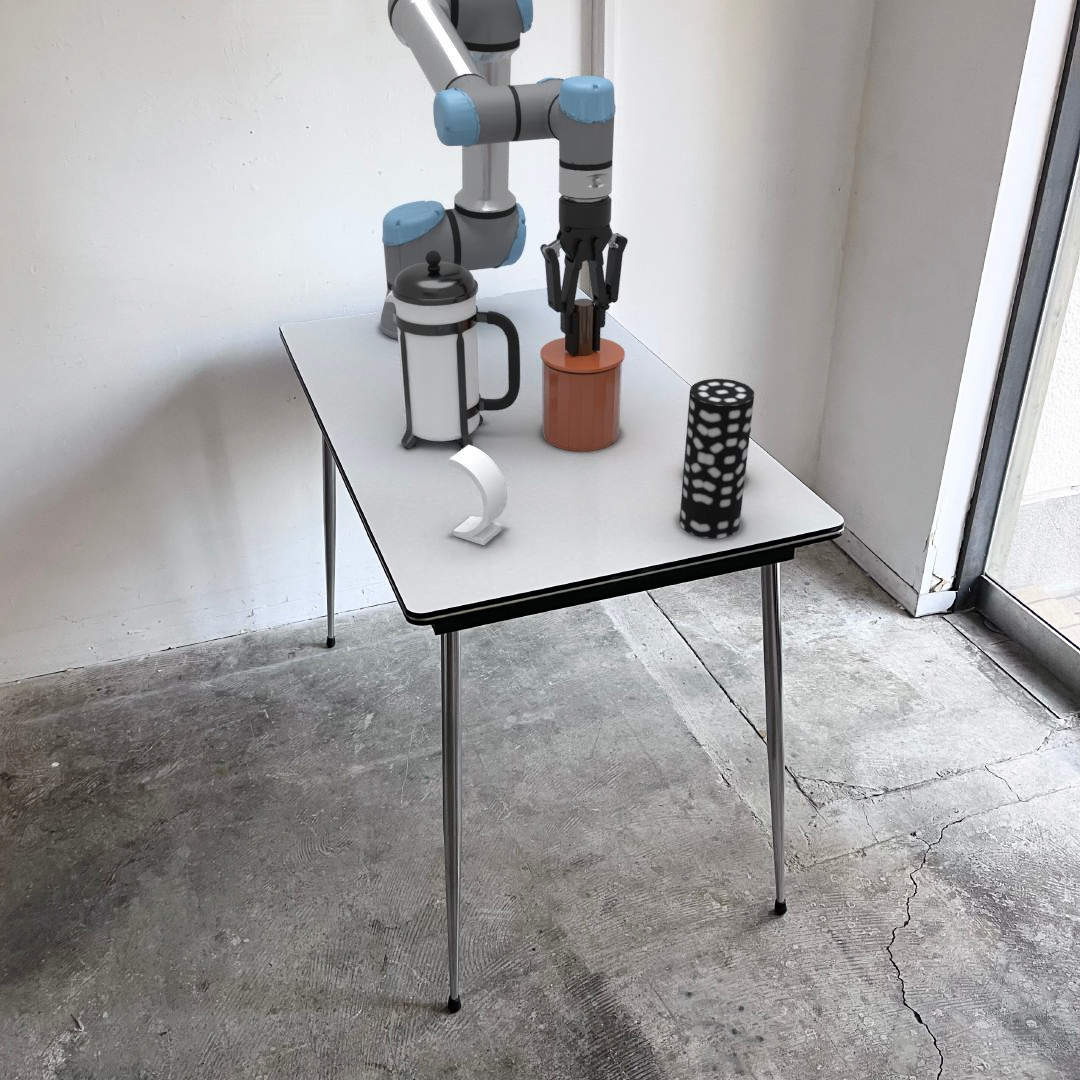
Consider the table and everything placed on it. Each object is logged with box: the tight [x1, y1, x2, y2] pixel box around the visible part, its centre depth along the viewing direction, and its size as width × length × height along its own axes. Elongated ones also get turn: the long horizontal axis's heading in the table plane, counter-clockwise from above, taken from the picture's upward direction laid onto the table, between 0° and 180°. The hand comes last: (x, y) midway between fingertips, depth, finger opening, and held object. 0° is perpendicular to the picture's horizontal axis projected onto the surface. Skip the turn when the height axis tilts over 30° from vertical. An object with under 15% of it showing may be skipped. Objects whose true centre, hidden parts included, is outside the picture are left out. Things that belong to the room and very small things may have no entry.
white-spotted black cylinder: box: [679, 378, 755, 540], centre depth 147 cm, size 8×8×20 cm
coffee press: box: [384, 251, 521, 450], centre depth 167 cm, size 17×16×30 cm
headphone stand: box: [448, 445, 508, 546], centre depth 147 cm, size 5×6×12 cm
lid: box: [539, 298, 626, 373], centre depth 166 cm, size 13×13×9 cm
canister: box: [541, 360, 623, 452], centre depth 172 cm, size 12×12×13 cm
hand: (582, 349), depth 167 cm, fingers closed on lid, 3 cm apart
